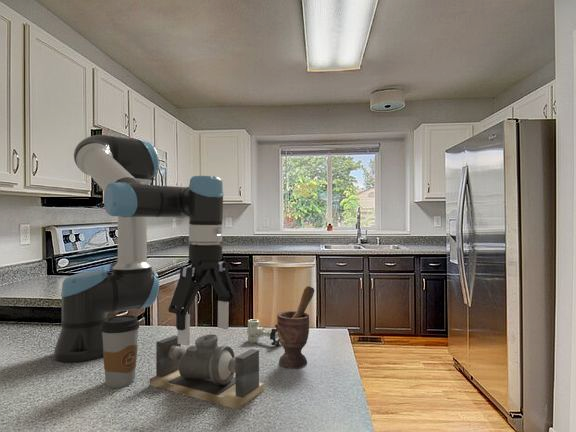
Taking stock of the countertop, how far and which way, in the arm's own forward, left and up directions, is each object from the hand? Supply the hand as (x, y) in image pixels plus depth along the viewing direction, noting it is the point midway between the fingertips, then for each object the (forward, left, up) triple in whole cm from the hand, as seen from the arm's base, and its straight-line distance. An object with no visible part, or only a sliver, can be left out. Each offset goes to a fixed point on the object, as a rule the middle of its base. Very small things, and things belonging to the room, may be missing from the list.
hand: (204, 335), depth 87 cm
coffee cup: (-20, -7, -12) cm, 24 cm away
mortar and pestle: (+11, +24, -12) cm, 29 cm away
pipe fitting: (0, 0, -10) cm, 10 cm away
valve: (-5, +34, -12) cm, 36 cm away
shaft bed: (0, 0, -12) cm, 12 cm away
